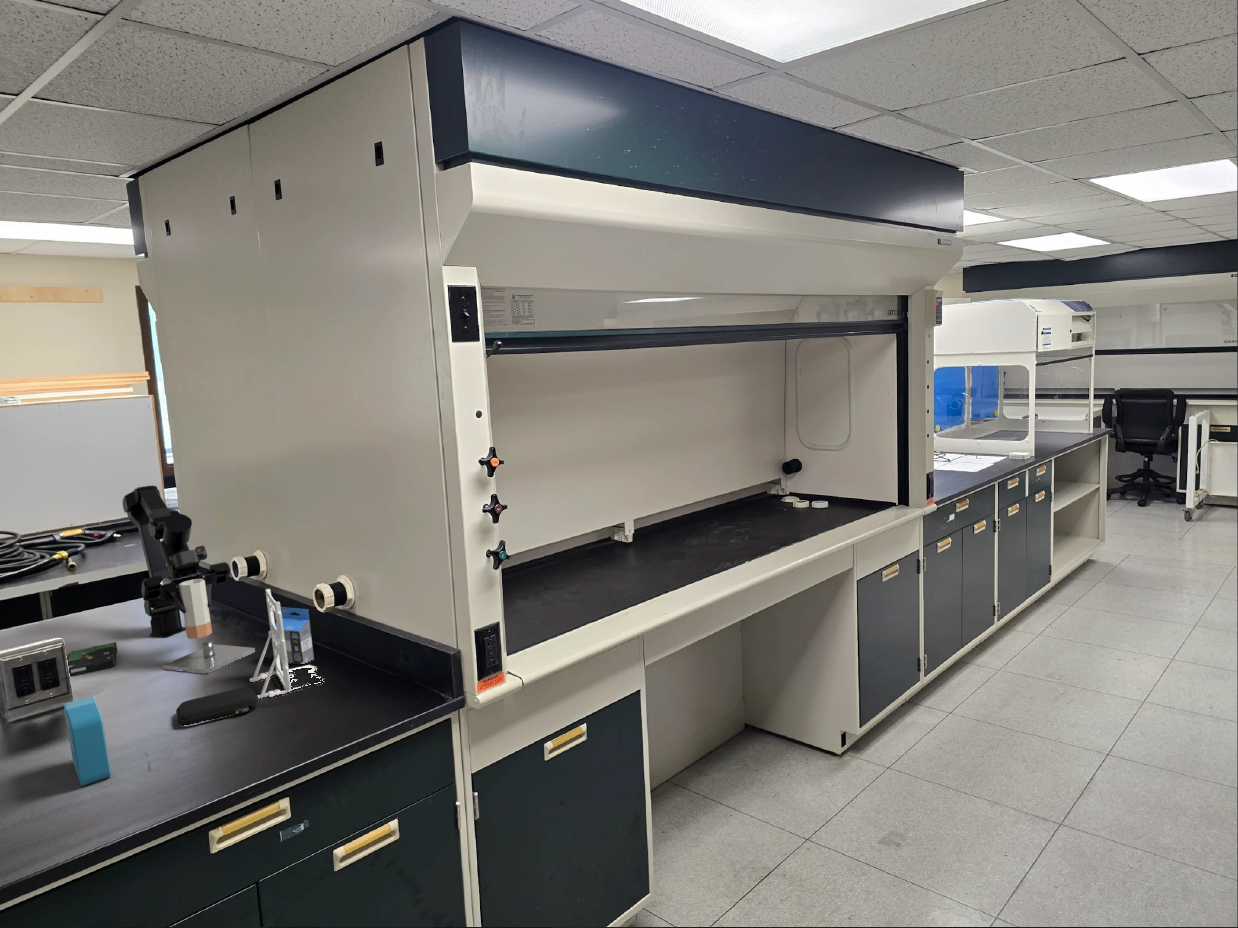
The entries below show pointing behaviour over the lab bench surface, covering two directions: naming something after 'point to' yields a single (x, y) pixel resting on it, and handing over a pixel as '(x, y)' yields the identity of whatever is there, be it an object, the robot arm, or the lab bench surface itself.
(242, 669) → the lab bench surface
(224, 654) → the pin plate
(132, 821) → the lab bench surface
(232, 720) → the lab bench surface
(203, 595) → the sleeve
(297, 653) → the label tape cartridge
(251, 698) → the carrying case or bag
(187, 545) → the robot arm
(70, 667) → the disk drive
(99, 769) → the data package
